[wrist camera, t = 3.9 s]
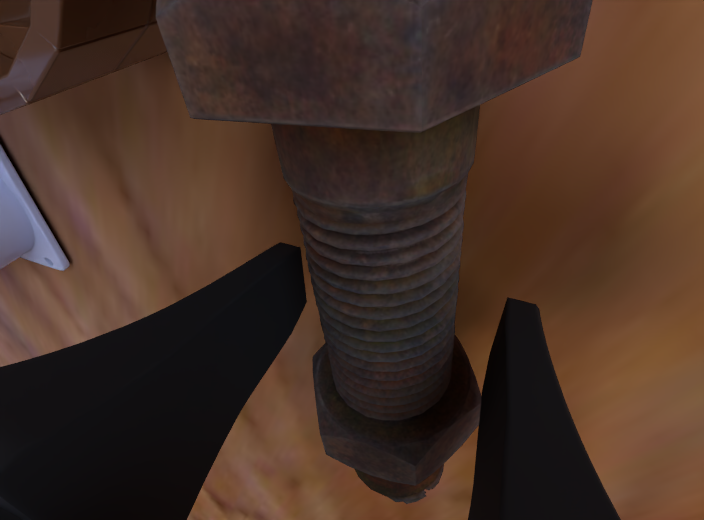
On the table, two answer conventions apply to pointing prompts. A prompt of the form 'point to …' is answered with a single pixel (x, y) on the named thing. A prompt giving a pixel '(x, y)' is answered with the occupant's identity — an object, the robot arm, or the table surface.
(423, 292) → the bolt
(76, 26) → the bowl
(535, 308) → the robot arm
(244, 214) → the table surface
